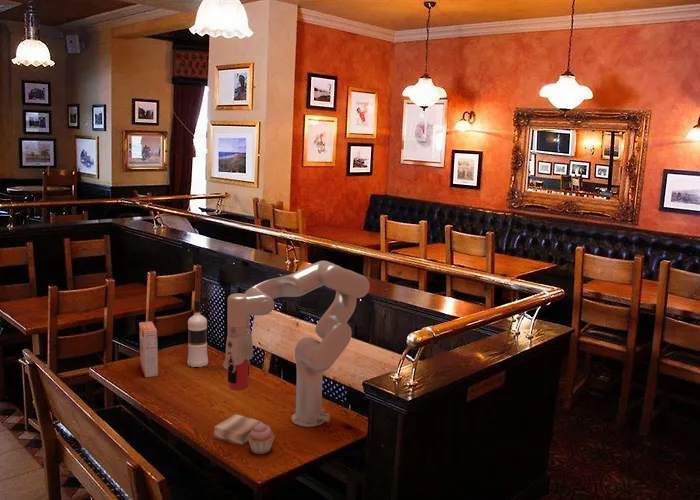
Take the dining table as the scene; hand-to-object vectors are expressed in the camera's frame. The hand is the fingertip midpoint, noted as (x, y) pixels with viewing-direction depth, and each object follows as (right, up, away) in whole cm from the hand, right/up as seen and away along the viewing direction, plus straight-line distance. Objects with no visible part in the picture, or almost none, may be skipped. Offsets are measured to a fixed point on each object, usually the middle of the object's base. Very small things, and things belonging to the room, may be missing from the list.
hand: (238, 378), depth 228 cm
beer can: (0, -3, +1) cm, 3 cm away
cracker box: (-49, -9, +59) cm, 77 cm away
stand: (-1, -21, +4) cm, 21 cm away
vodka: (-30, -7, +70) cm, 76 cm away
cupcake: (+9, -23, -6) cm, 25 cm away
